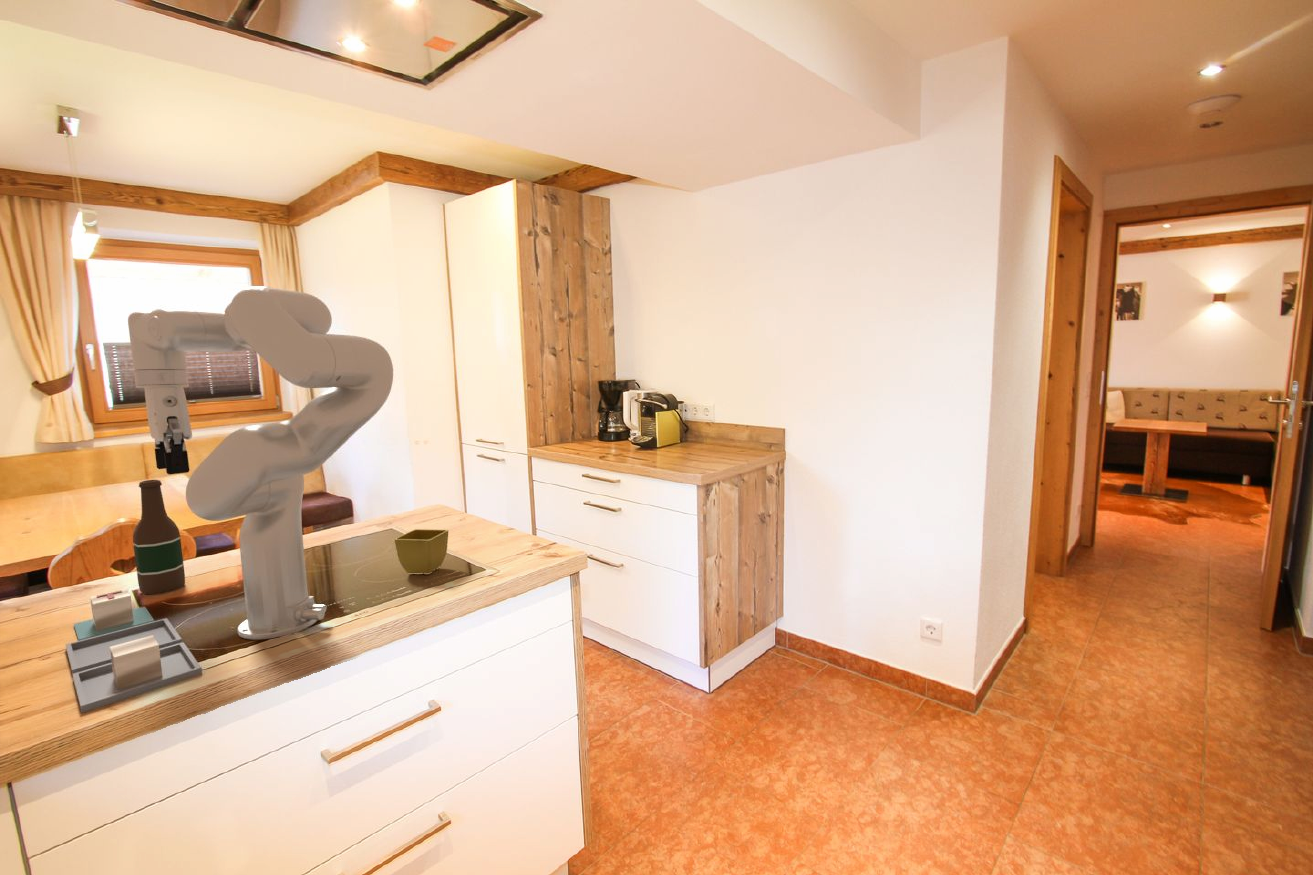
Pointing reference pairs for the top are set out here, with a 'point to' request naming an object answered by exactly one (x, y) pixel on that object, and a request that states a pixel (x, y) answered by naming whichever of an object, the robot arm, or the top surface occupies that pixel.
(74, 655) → the dish far
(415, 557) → the flower pot
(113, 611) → the letter cube
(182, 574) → the beer bottle
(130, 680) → the plain cube
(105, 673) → the dish near
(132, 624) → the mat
